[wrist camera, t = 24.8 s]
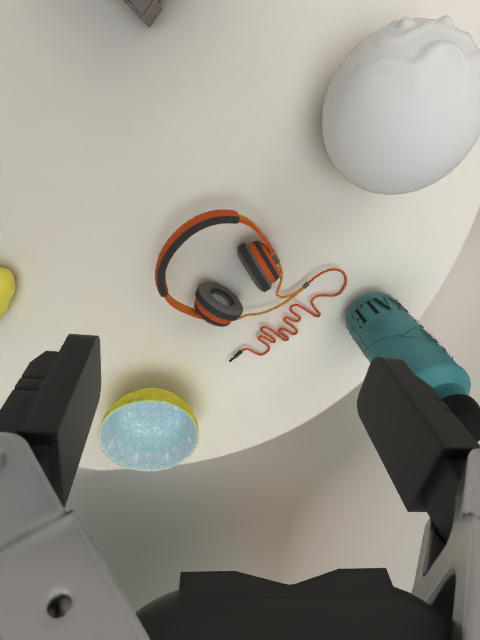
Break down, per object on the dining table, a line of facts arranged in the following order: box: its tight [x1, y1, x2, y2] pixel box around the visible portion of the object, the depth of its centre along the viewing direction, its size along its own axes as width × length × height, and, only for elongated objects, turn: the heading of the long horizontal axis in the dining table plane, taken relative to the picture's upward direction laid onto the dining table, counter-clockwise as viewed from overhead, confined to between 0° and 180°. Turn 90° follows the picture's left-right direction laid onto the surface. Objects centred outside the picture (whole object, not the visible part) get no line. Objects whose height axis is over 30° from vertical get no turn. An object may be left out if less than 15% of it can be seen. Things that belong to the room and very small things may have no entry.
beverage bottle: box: [346, 293, 480, 442], centre depth 38 cm, size 6×7×20 cm
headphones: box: [155, 210, 347, 362], centre depth 41 cm, size 17×5×20 cm
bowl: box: [98, 388, 199, 471], centre depth 48 cm, size 11×12×6 cm
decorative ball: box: [322, 15, 480, 195], centre depth 31 cm, size 12×12×12 cm
